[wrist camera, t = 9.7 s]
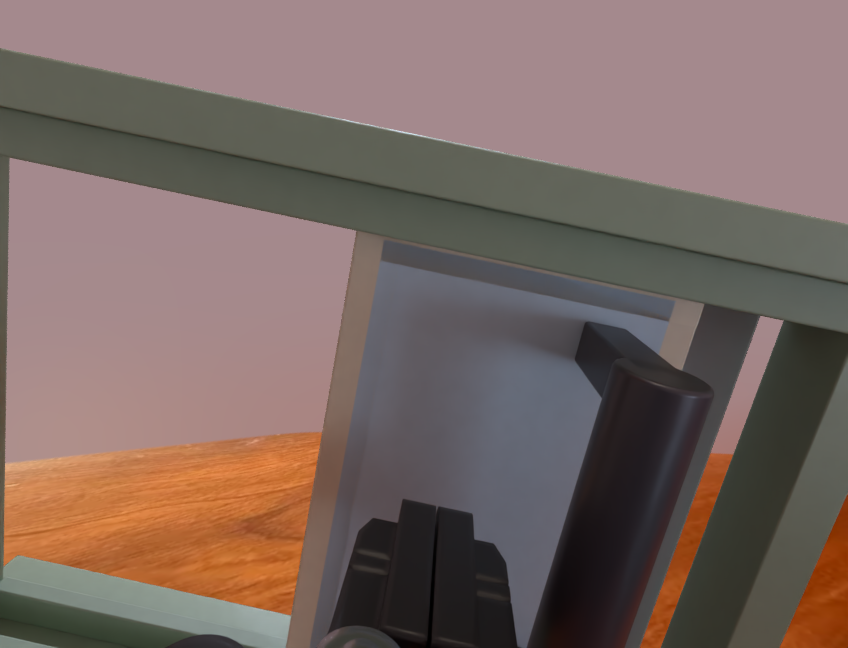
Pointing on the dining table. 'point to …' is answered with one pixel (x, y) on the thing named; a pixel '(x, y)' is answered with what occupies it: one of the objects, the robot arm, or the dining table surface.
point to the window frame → (495, 239)
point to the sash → (506, 431)
